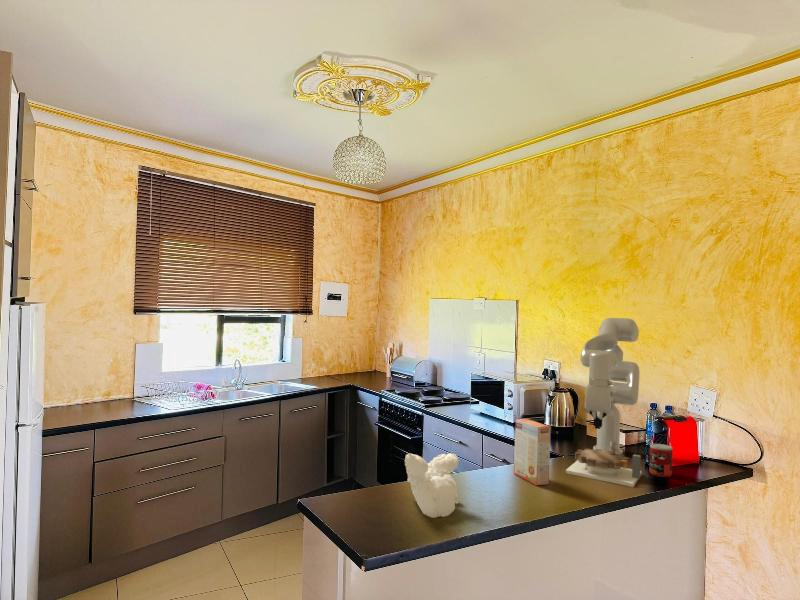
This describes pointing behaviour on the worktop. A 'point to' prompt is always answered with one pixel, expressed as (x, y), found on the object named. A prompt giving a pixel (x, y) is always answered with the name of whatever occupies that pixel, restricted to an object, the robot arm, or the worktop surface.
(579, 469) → the stand
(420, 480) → the white lumpy piece
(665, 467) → the canned food
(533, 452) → the cracker box
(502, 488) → the worktop surface
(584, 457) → the sprocket
